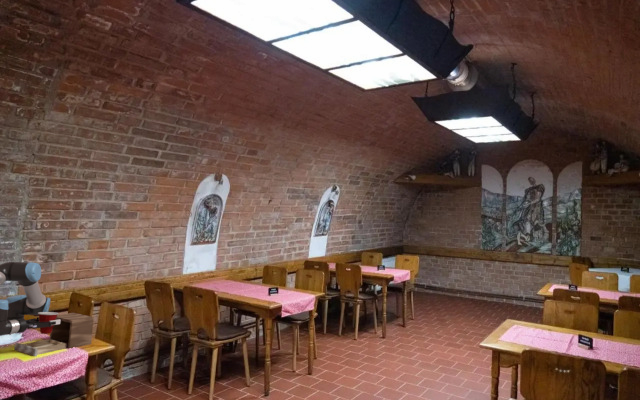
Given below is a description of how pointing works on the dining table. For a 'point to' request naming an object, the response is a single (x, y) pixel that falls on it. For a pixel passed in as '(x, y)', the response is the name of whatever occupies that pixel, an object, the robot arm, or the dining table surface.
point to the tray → (40, 347)
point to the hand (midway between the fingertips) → (54, 320)
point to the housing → (73, 329)
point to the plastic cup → (46, 318)
